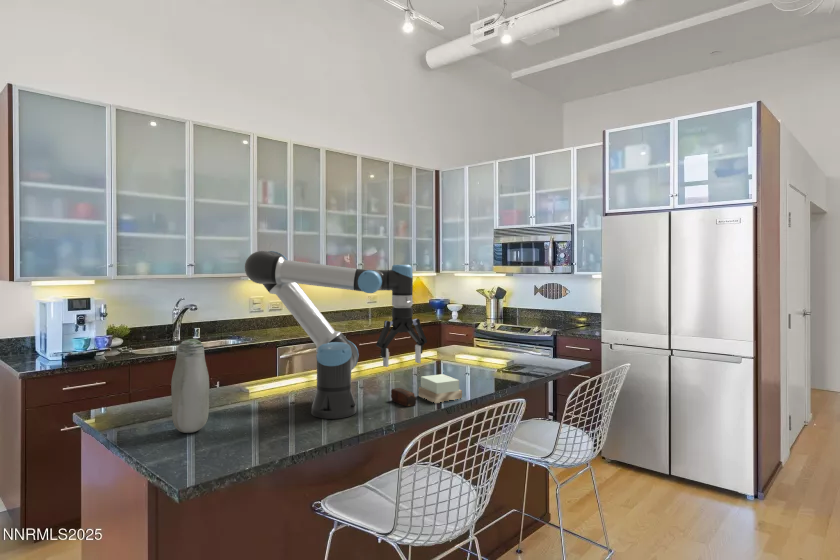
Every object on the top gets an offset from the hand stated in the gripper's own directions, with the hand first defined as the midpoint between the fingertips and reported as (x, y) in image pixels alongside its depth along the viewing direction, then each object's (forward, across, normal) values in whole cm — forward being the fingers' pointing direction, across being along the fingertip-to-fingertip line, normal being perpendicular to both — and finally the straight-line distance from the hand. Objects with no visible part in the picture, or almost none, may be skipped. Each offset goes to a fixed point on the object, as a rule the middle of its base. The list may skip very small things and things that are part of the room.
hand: (402, 364), depth 191 cm
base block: (+15, +17, 0) cm, 23 cm away
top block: (+11, +17, 0) cm, 20 cm away
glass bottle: (+14, -71, +4) cm, 73 cm away
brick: (+15, +1, 0) cm, 15 cm away
